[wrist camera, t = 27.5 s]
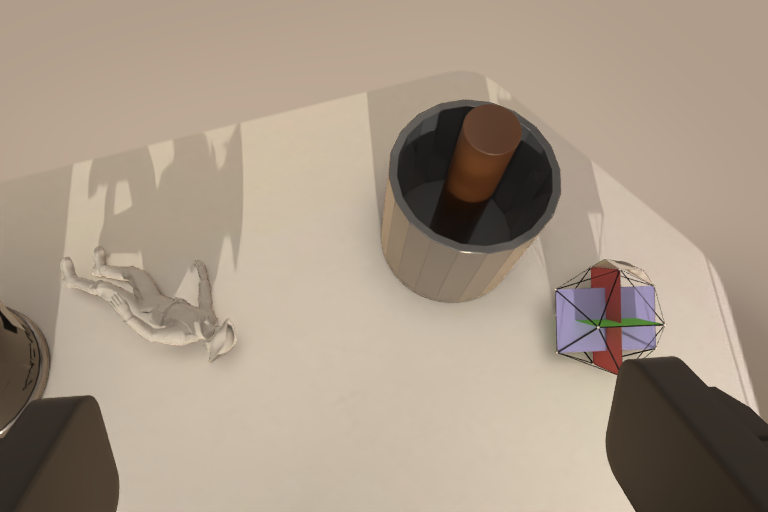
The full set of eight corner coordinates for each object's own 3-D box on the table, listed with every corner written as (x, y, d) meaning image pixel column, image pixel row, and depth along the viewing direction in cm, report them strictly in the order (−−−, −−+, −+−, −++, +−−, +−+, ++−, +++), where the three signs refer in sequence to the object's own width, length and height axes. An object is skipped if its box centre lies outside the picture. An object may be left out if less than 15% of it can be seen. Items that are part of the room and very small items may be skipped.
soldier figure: (133, 233, 42) (268, 269, 38) (138, 293, 44) (267, 333, 39) (33, 265, 35) (184, 313, 31) (44, 334, 37) (188, 389, 33)
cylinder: (433, 258, 41) (472, 159, 28) (423, 221, 42) (456, 108, 29) (473, 250, 41) (530, 149, 28) (462, 213, 42) (511, 99, 29)
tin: (398, 316, 40) (413, 269, 30) (367, 191, 43) (372, 114, 34) (532, 287, 41) (585, 233, 32) (492, 168, 44) (529, 88, 35)
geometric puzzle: (666, 400, 37) (705, 301, 32) (562, 406, 36) (588, 306, 32) (618, 329, 43) (646, 237, 38) (529, 332, 42) (547, 240, 38)
